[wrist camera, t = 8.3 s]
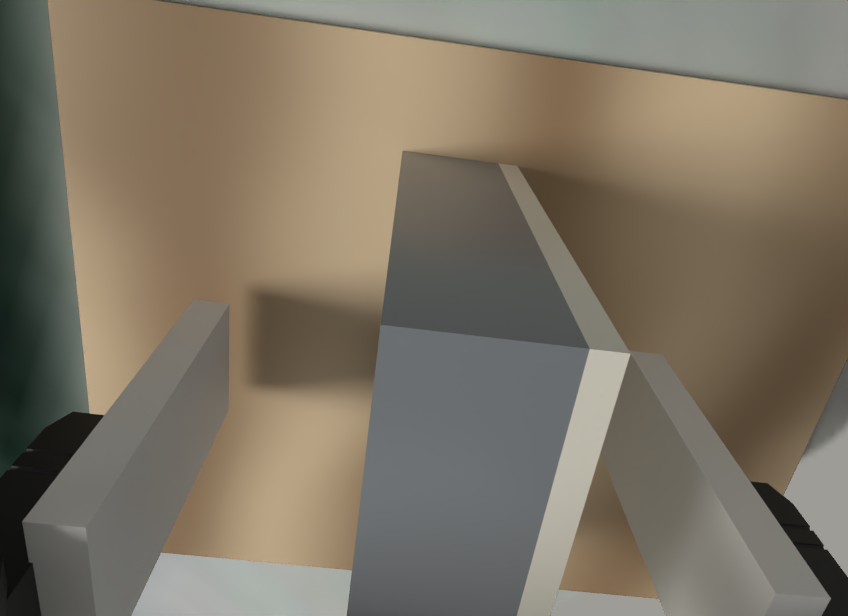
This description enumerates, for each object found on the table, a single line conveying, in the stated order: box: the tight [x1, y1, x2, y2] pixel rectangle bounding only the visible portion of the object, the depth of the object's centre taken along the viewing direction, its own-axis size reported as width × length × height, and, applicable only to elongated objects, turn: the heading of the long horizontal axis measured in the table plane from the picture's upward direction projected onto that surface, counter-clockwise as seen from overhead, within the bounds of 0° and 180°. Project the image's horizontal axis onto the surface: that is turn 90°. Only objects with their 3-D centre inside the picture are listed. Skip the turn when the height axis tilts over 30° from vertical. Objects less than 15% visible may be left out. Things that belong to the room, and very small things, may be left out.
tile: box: [347, 151, 631, 616], centre depth 12 cm, size 2×10×8 cm, turn 172°
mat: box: [48, 0, 848, 599], centre depth 16 cm, size 18×14×1 cm
